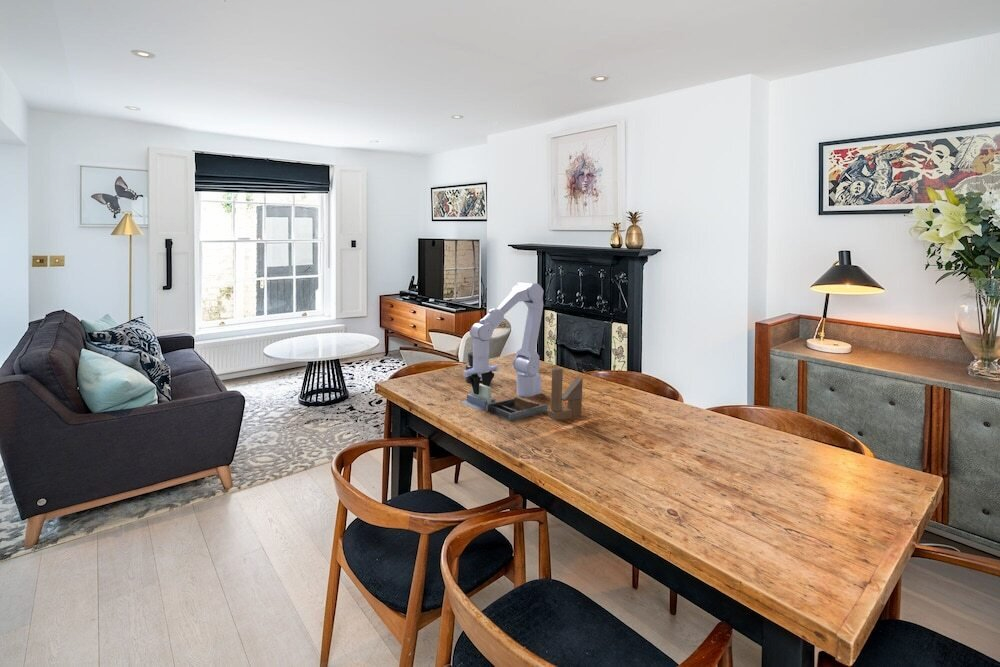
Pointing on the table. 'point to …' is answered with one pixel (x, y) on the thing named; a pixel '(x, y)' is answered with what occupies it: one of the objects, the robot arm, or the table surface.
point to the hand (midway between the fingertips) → (480, 393)
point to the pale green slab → (483, 393)
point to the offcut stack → (524, 403)
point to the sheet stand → (476, 402)
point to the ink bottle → (471, 366)
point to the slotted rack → (513, 410)
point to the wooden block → (565, 397)
